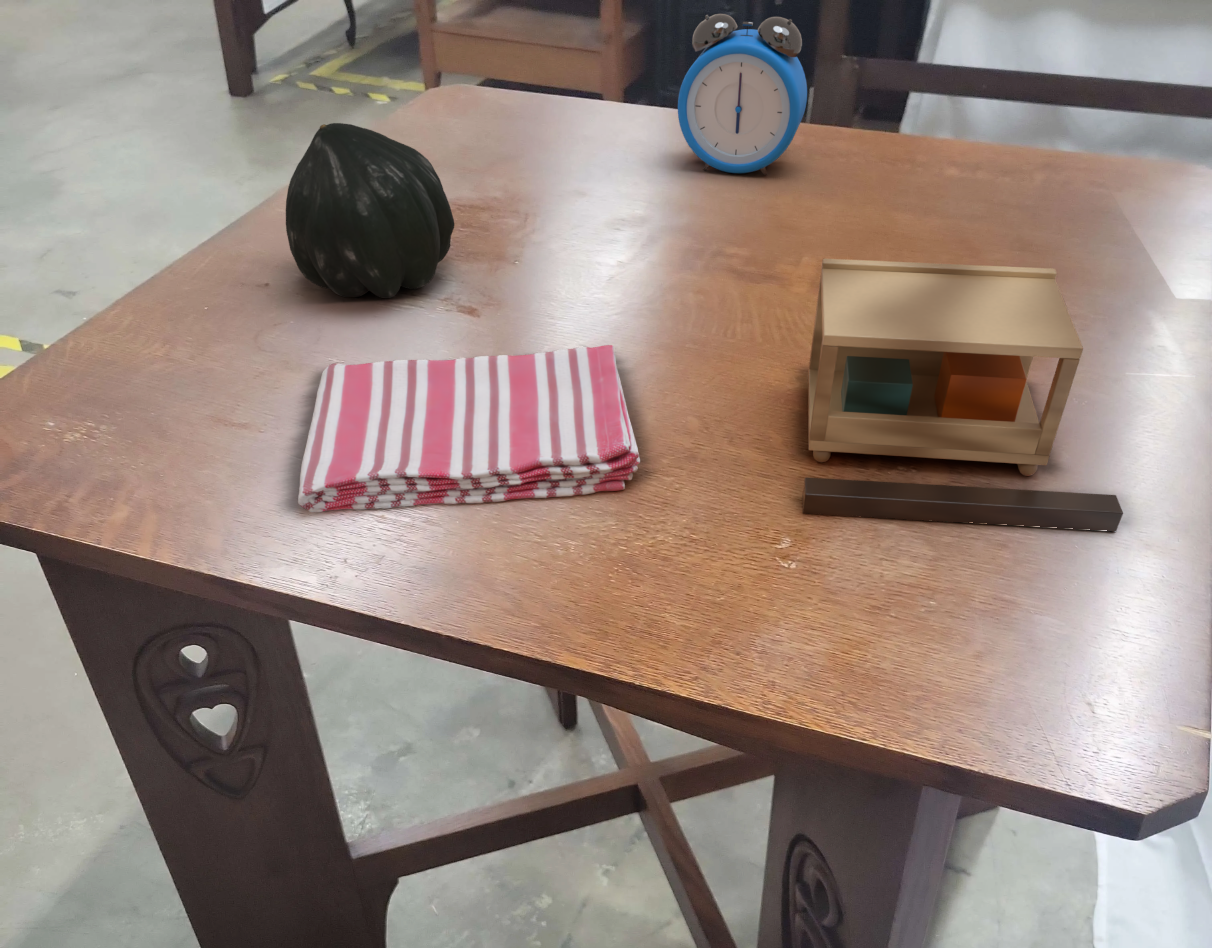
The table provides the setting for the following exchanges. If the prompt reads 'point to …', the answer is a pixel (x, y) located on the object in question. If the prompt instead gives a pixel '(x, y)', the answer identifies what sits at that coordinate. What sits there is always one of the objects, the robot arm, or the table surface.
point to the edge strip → (961, 504)
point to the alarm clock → (743, 93)
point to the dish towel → (468, 431)
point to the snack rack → (937, 361)
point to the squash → (366, 213)
